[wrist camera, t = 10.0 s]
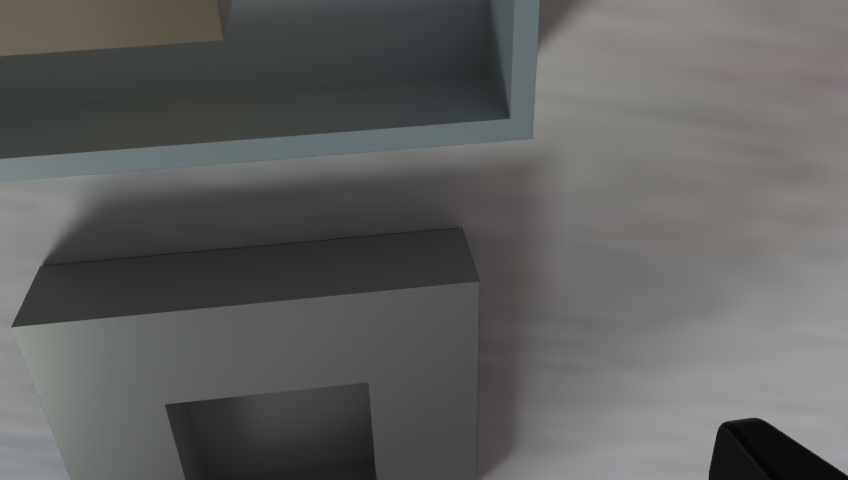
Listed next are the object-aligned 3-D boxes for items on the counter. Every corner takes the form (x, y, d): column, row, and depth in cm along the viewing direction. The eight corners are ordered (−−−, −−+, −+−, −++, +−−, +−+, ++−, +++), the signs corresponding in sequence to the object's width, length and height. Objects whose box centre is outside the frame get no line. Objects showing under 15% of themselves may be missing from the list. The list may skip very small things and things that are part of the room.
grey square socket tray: (134, 537, 27) (121, 607, 25) (39, 266, 21) (11, 327, 19) (461, 497, 28) (475, 560, 26) (462, 227, 22) (479, 281, 20)
